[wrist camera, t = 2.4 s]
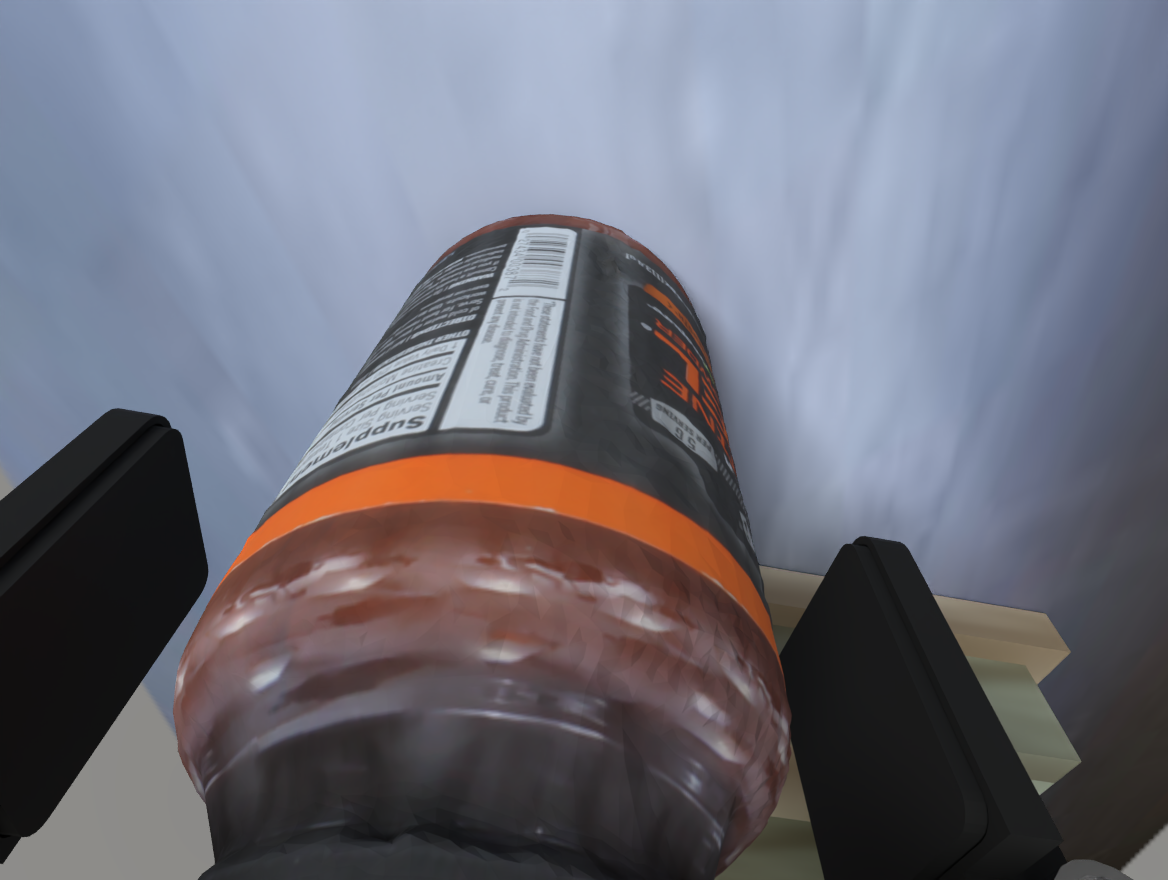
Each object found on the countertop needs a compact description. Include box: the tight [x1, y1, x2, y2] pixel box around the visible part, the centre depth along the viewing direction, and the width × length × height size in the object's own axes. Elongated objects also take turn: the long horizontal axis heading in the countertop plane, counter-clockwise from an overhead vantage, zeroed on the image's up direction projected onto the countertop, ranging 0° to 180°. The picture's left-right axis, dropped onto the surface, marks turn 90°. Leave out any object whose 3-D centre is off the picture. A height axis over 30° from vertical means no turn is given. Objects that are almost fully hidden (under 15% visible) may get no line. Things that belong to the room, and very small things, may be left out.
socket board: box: [714, 566, 1082, 880], centre depth 19 cm, size 12×12×4 cm
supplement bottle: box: [173, 214, 792, 880], centre depth 9 cm, size 6×6×11 cm
